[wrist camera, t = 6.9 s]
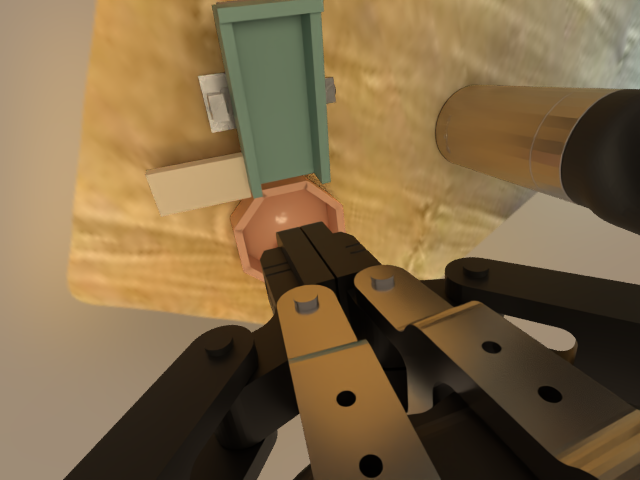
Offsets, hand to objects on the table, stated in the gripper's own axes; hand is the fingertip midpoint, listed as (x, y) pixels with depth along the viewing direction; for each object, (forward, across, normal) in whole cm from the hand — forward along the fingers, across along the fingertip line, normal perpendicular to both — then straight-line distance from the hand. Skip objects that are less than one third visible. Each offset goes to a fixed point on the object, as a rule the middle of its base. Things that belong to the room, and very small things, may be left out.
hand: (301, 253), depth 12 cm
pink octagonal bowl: (+29, -4, +11) cm, 31 cm away
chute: (+25, 0, -3) cm, 25 cm away
